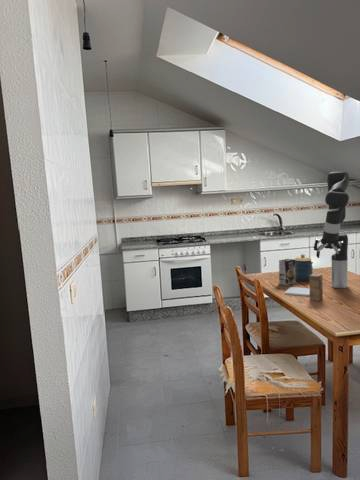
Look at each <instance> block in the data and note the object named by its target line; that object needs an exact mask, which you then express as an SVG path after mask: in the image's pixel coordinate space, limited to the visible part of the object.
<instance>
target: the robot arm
mask: <svg viewBox="0 0 360 480" xmlns="http://www.w3.org/2000/svg"><path fill="white" fill-rule="evenodd" d="M326 178H327V180H326V181H327V193H326V195H325V198H324V202H325V204H327V206H328V210H327V212H326V215H325V217H326V218H325V223H324V226H323V232H322V238H321V239H319V238H317V237H316V238H315V241H314V244H313V250H314V251H316V256H315V257H316V258H317V259H320V256H321V251H322V250H323V249H328V250H329V249H330V250H332V249H333V250H334V252H335V253H333V254H332V255H331V287H332V288H336V289H347V288H348V286H349V285H348V279H349V277H348V274H349V272H348V271H349V270H348V265H349V263H348V249H349V248H348V247H349V235H347V233H340V231H341V225H342V224H343V222H345V219H346V207H347V205H348V203H349V200H350V196H349V195H348V193H347V192H346V190H347V189H348V186H349V183H350V181H349V180H350V177H349V173H348V172H347V171H332V172H331V171H330V172H329V173H328V174H327V177H326ZM320 243H321V244H320ZM318 244H320V245H319V246H318Z"/></svg>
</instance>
